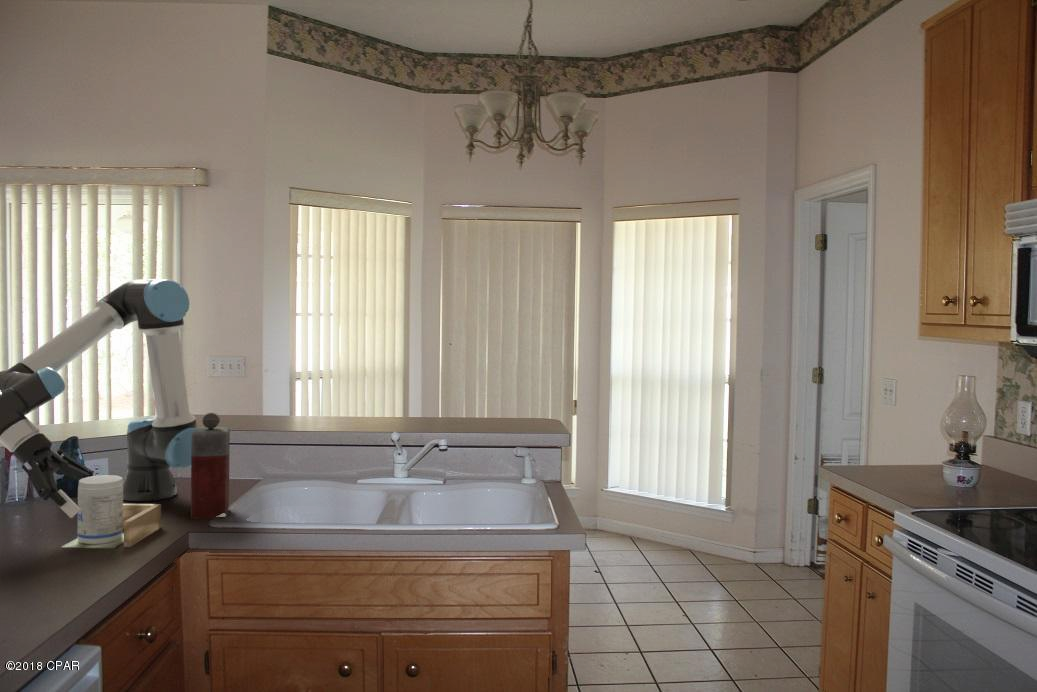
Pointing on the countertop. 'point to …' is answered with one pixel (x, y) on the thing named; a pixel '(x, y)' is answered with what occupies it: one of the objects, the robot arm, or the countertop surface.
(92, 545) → the corner arena
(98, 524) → the supplement tub
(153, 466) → the robot arm
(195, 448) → the dark red bottle
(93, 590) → the countertop surface
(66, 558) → the countertop surface
